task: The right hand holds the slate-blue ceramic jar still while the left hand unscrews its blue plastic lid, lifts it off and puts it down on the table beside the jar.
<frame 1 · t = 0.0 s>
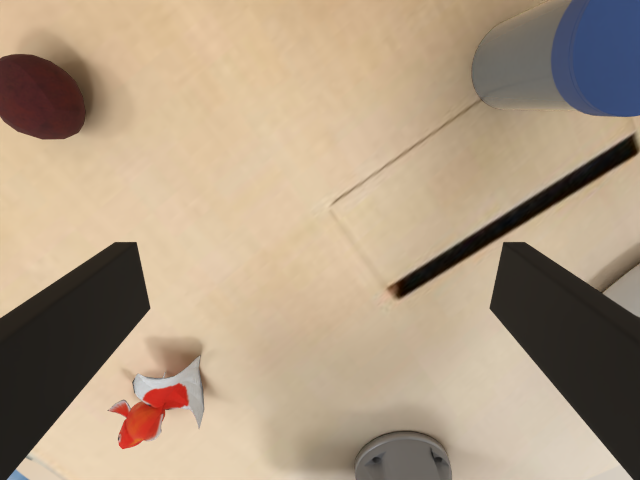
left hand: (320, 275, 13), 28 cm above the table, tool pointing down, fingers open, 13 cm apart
fish: (171, 378, 50), on the table
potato: (66, 100, 36), on the table
jar: (513, 65, 35), on the table
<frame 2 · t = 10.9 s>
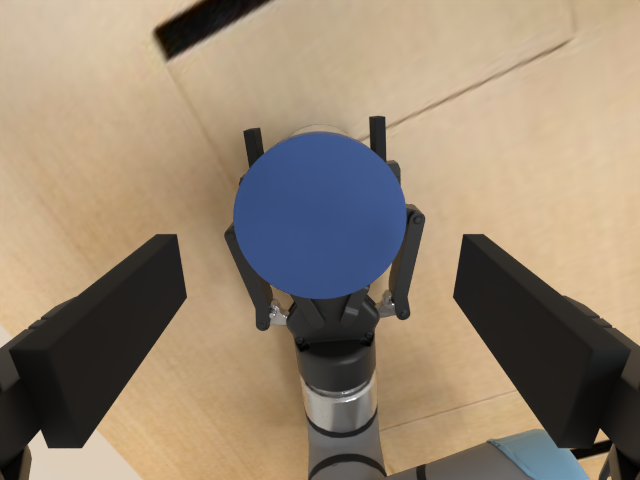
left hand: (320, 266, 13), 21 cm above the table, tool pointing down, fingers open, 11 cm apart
right hand: (314, 123, 25), fingers closed on jar, 8 cm apart
lid: (320, 222, 18), point 15 cm above the table, screwed on, not yet turned
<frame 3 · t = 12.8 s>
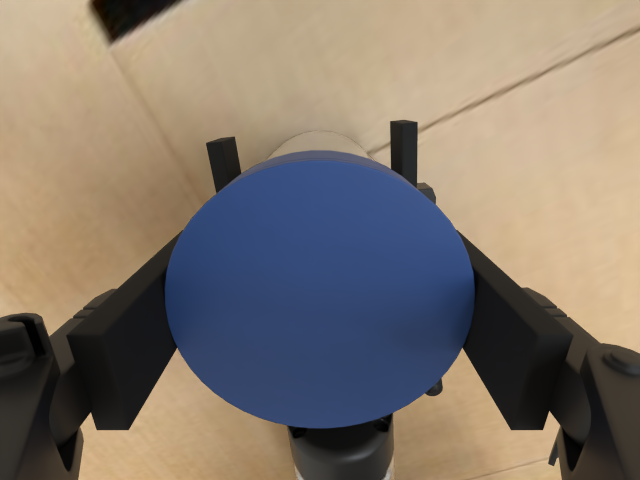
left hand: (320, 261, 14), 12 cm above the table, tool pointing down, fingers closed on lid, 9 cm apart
lid: (319, 310, 10), point 15 cm above the table, screwed on, not yet turned, touching left hand
jar: (319, 192, 25), on the table, touching right hand
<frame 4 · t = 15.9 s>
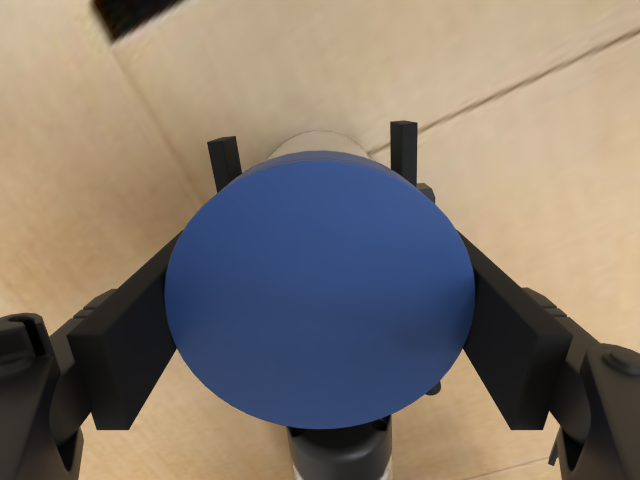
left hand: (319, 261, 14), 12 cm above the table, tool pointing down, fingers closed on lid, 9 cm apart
lid: (319, 310, 10), point 15 cm above the table, turned 100° so far, risen 0.1 cm, still on its thread, touching left hand
jar: (319, 192, 25), on the table, touching right hand
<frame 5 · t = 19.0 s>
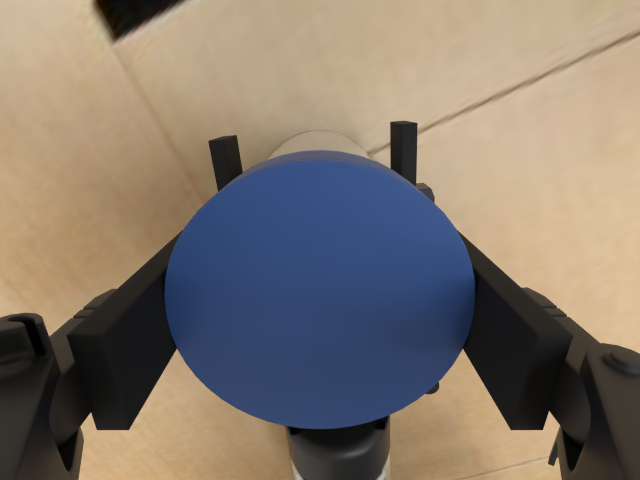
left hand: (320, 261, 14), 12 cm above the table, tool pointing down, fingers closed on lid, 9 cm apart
lid: (319, 310, 10), point 16 cm above the table, turned 200° so far, risen 0.3 cm, still on its thread, touching left hand
jar: (319, 191, 25), on the table, touching right hand
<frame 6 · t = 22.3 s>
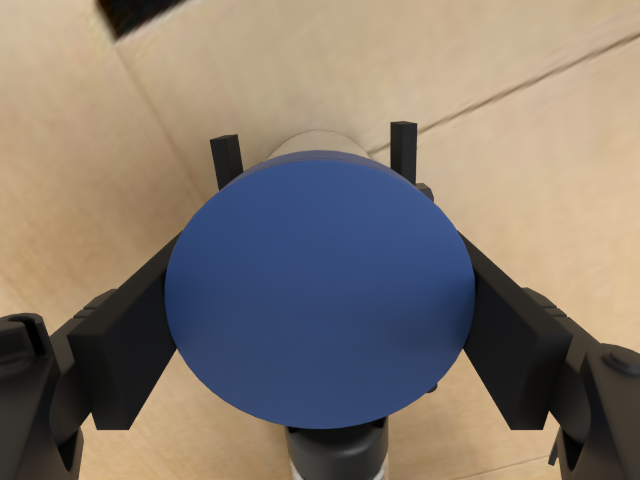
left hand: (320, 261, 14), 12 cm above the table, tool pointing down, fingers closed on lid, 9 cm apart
lid: (319, 310, 10), point 16 cm above the table, turned 299° so far, risen 0.4 cm, still on its thread, touching left hand
jar: (319, 191, 25), on the table, touching right hand
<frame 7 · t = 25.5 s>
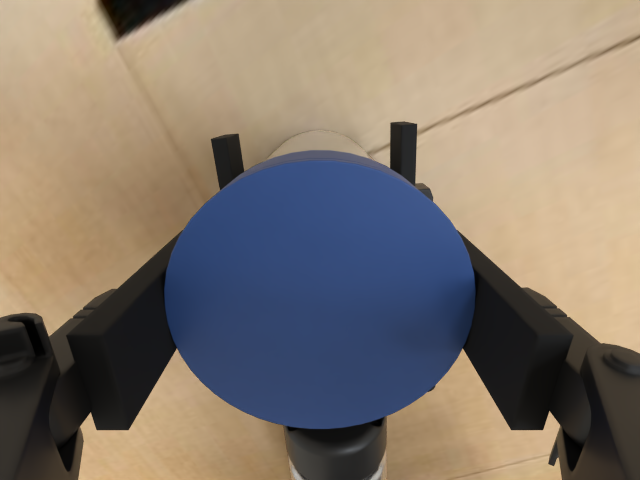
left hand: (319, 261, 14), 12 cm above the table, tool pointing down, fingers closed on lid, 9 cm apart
lid: (319, 310, 10), point 16 cm above the table, turned 399° so far, risen 0.5 cm, still on its thread, touching left hand
jar: (319, 190, 25), on the table, touching right hand
when the left hand's fingers open (0 cm above the table, at t = 31.9 s): lid drops 2 cm, point 2 cm above the table.
when the right hand's fingers open (6 cm above the table, at t = 32.9 s): jar stays where it is, on the table.
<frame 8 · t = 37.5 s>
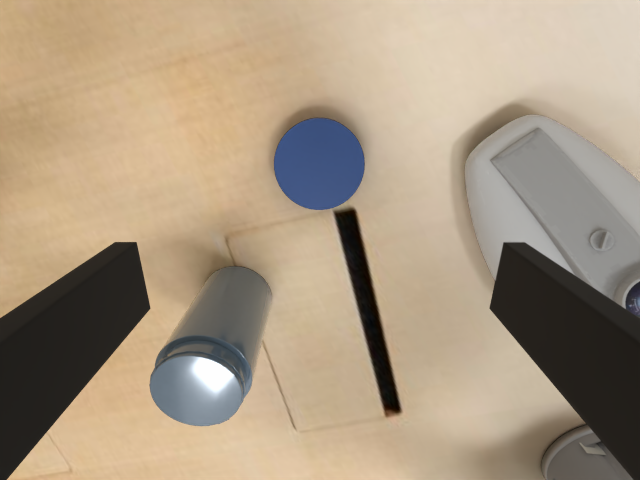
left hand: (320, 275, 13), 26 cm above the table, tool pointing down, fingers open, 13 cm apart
lid: (319, 165, 35), point 2 cm above the table, off its thread
projector: (533, 218, 39), on the table
jar: (237, 297, 42), on the table
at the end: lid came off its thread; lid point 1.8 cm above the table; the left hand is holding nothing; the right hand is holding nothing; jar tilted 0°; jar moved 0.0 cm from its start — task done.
